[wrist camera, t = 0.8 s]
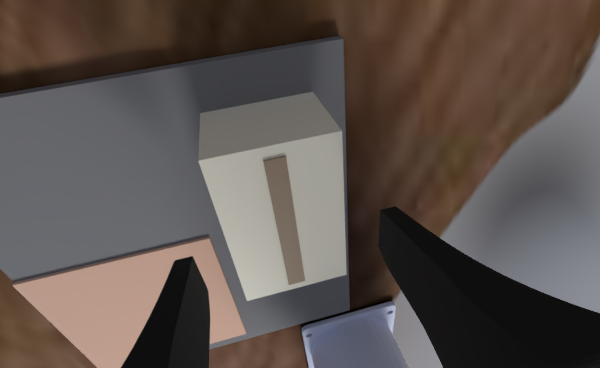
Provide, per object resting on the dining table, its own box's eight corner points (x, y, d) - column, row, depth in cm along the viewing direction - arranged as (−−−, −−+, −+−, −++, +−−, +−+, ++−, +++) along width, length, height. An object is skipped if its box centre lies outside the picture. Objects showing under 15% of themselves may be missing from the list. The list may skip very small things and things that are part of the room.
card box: (323, 221, 19) (347, 276, 16) (240, 241, 19) (247, 302, 15) (312, 91, 15) (342, 131, 11) (200, 113, 14) (198, 162, 11)
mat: (347, 303, 26) (350, 312, 25) (112, 368, 24) (110, 379, 23) (338, 35, 14) (345, 39, 13) (-134, 116, 12) (-154, 125, 11)
